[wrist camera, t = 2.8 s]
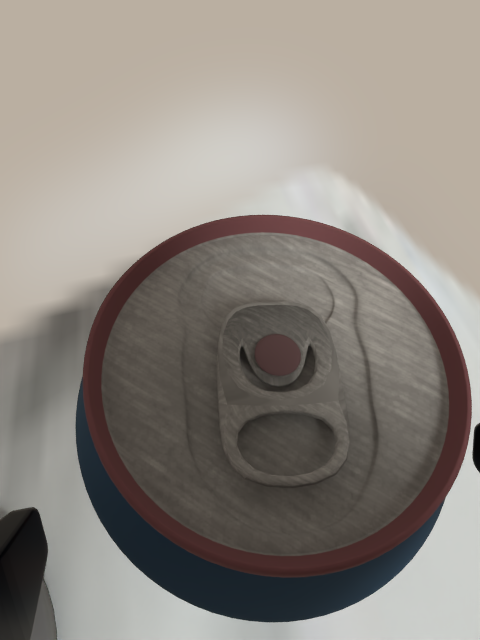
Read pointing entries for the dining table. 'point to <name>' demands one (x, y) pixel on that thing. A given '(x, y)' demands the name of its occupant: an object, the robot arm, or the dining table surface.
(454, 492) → the dining table surface
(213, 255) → the soda can
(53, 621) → the ring coaster
